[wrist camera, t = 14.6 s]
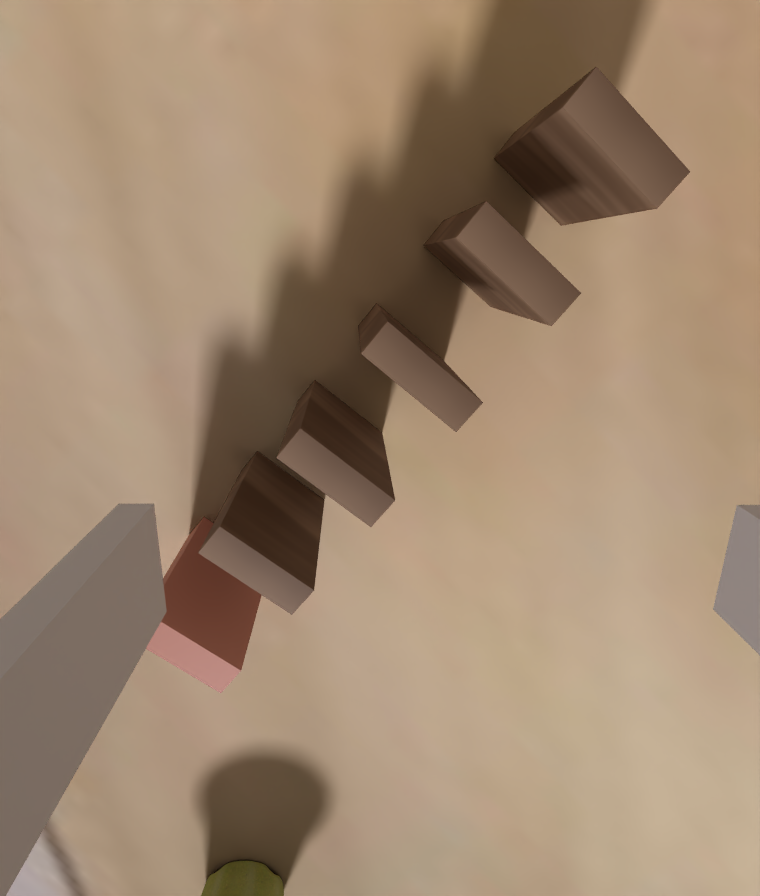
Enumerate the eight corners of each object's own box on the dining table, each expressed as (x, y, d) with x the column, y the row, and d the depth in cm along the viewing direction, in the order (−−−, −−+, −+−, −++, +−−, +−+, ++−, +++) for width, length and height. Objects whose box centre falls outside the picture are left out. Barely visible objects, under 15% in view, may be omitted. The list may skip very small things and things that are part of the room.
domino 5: (490, 306, 31) (551, 326, 22) (423, 245, 30) (456, 237, 21) (510, 283, 31) (581, 293, 21) (443, 220, 30) (486, 200, 20)
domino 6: (561, 225, 30) (657, 208, 21) (493, 158, 29) (562, 107, 19) (582, 200, 30) (690, 171, 20) (515, 131, 29) (596, 66, 19)
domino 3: (364, 452, 34) (370, 527, 24) (297, 401, 32) (276, 457, 23) (382, 432, 33) (395, 500, 24) (314, 379, 32) (300, 428, 23)
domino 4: (425, 382, 32) (456, 432, 23) (358, 326, 31) (361, 353, 22) (444, 361, 32) (482, 402, 23) (376, 303, 31) (387, 321, 21)
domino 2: (308, 518, 35) (292, 614, 25) (241, 470, 34) (198, 553, 24) (324, 499, 34) (313, 590, 25) (257, 451, 33) (219, 526, 24)
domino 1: (255, 579, 36) (220, 693, 26) (189, 535, 35) (127, 637, 25) (270, 561, 36) (240, 670, 26) (203, 516, 34) (147, 613, 25)
